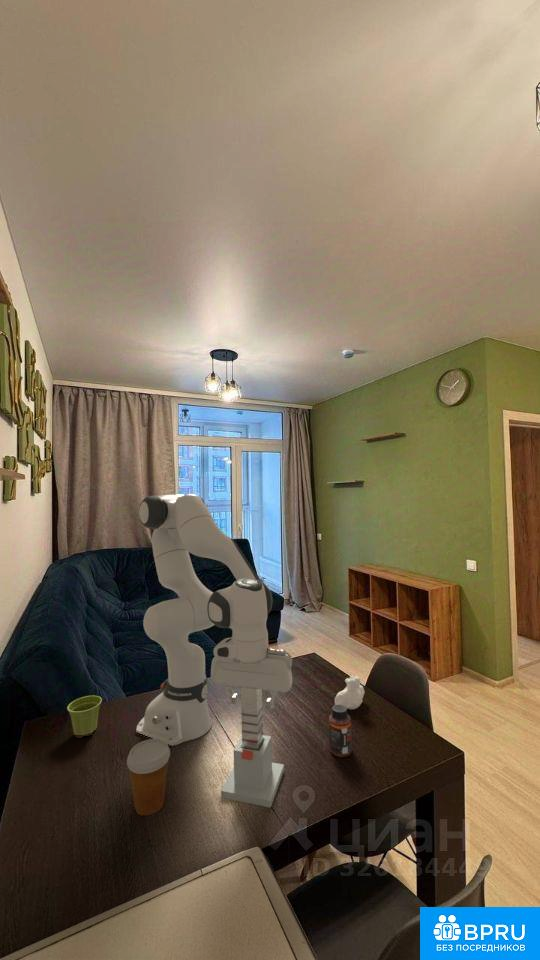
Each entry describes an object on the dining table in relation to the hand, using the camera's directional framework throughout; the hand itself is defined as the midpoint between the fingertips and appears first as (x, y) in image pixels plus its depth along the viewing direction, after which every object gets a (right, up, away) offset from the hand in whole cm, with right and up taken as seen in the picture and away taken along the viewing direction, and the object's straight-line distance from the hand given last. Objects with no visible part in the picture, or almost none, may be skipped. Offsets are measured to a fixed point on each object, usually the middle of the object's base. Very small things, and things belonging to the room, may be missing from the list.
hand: (251, 704), depth 94 cm
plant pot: (-51, -21, +22) cm, 60 cm away
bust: (+31, -19, +32) cm, 49 cm away
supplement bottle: (+24, -19, +10) cm, 32 cm away
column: (0, -11, 0) cm, 11 cm away
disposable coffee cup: (-23, -19, -6) cm, 31 cm away
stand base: (+1, -19, -1) cm, 19 cm away
